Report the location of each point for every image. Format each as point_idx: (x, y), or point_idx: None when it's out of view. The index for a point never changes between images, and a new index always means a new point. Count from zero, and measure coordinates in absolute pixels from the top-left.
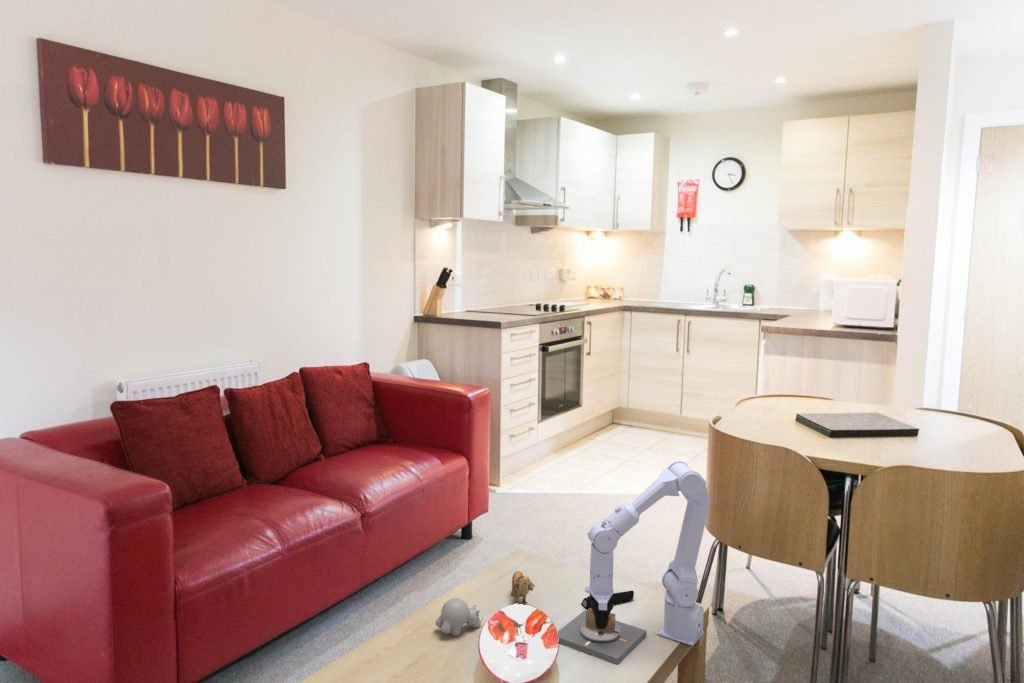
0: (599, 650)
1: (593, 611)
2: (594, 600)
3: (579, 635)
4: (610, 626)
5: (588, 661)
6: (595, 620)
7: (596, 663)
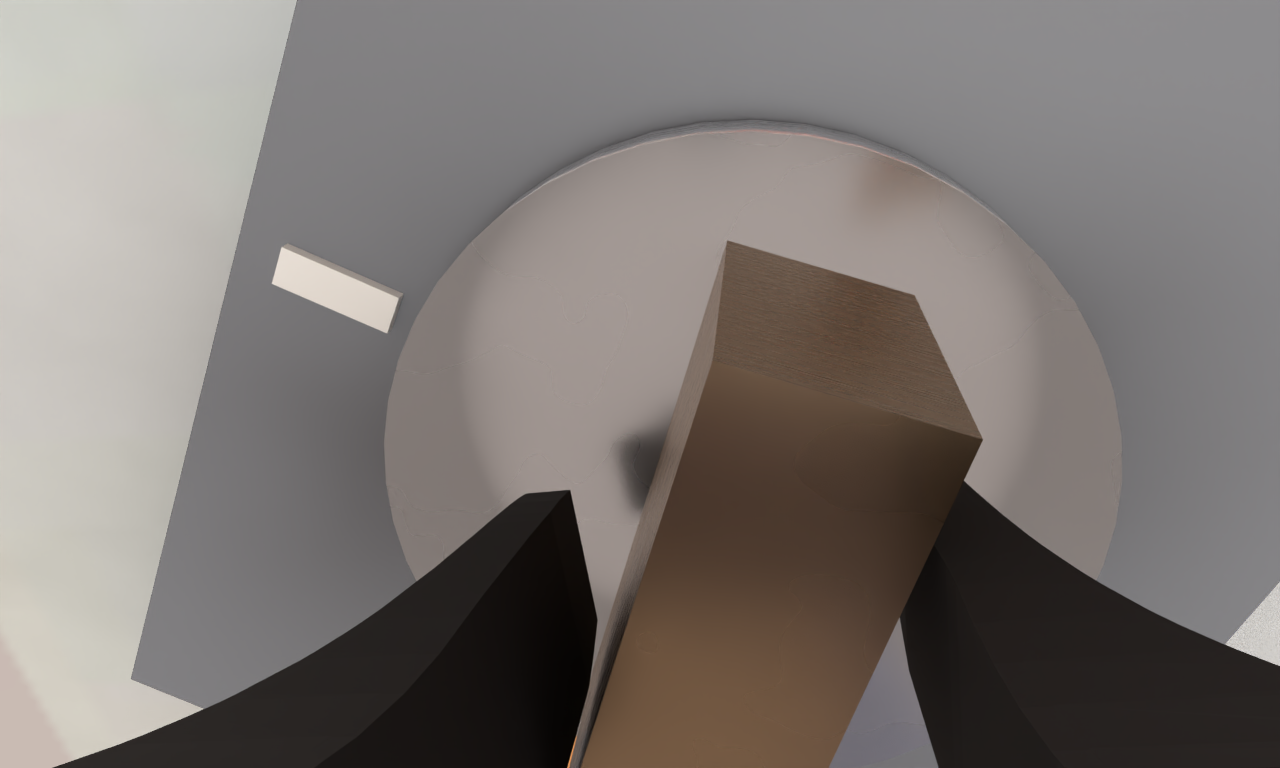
0: (225, 465)
1: (169, 729)
2: (992, 744)
3: (569, 118)
4: (579, 734)
5: (93, 293)
6: (429, 574)
7: (96, 397)
